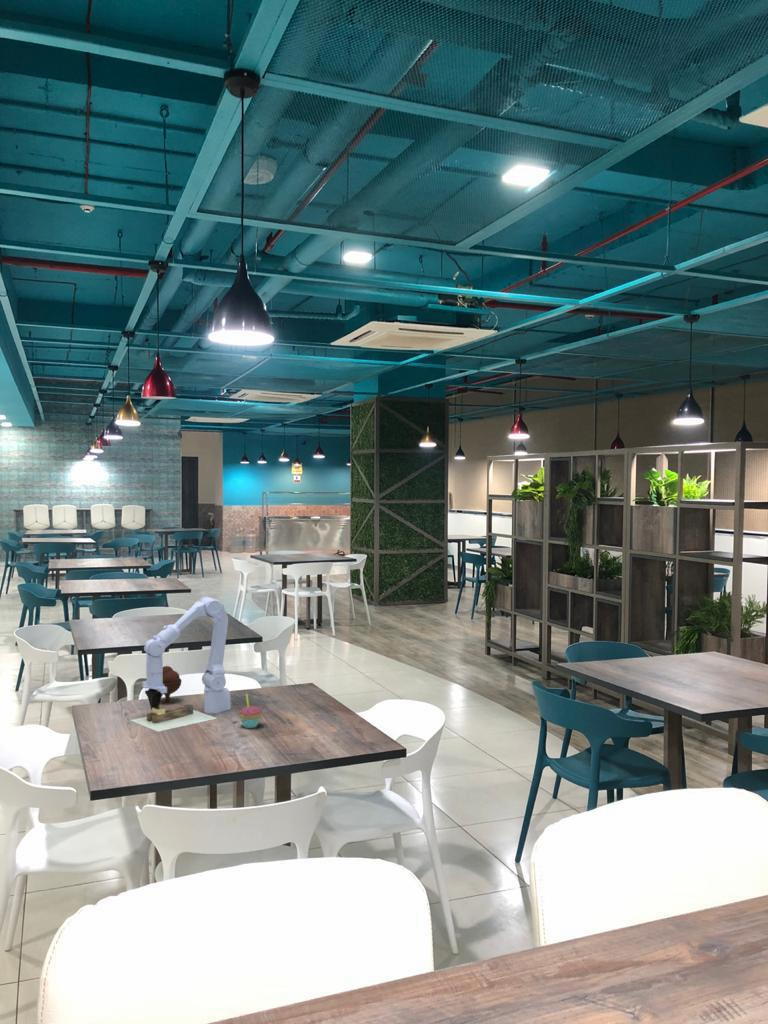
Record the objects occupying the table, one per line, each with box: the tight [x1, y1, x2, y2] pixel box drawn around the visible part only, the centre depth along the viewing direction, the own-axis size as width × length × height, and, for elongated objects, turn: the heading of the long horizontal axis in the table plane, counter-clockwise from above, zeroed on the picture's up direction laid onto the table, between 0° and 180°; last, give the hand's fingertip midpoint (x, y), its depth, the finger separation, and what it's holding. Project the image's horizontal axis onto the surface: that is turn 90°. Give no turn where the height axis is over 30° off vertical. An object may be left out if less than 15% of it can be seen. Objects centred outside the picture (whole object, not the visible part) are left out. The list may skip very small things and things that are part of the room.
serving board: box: [130, 709, 218, 732], centre depth 296 cm, size 24×20×1 cm
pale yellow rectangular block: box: [151, 705, 166, 715], centre depth 294 cm, size 3×4×2 cm
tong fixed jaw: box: [146, 704, 194, 722], centre depth 299 cm, size 18×4×3 cm, turn 134°
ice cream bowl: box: [162, 665, 182, 704], centre depth 321 cm, size 11×11×15 cm
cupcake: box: [237, 692, 264, 729], centre depth 291 cm, size 9×8×12 cm
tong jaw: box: [152, 707, 188, 723], centre depth 296 cm, size 14×2×2 cm, turn 139°
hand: (154, 709), depth 296 cm, fingers closed
